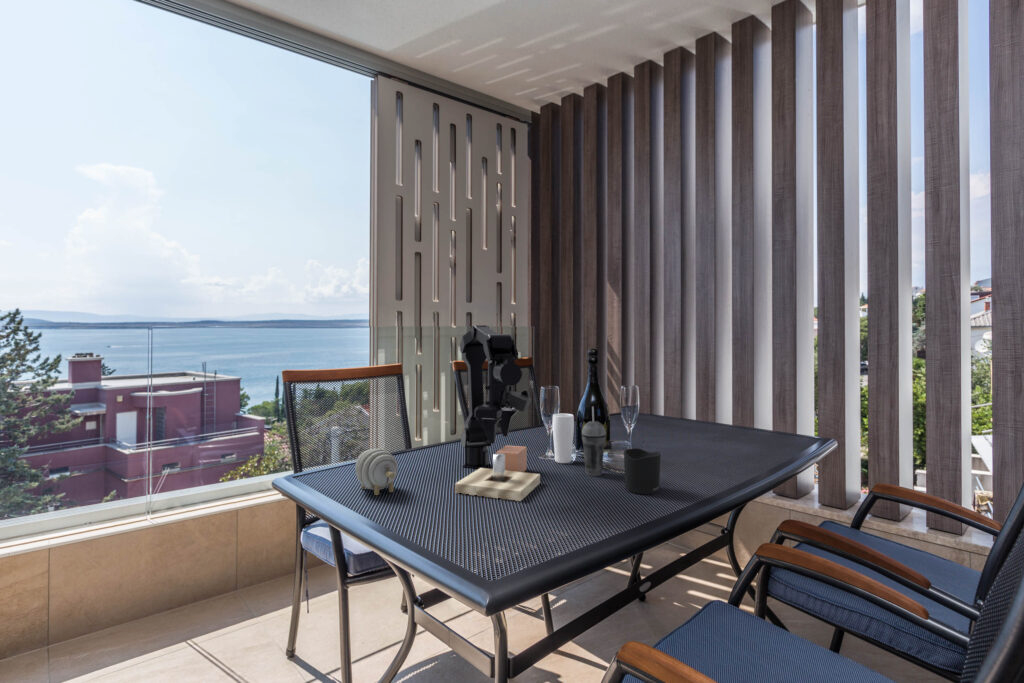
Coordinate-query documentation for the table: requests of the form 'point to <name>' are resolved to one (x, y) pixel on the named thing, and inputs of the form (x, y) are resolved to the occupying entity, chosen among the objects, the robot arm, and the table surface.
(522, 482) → the pin board
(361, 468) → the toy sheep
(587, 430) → the beverage cup
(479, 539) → the table surface
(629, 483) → the pen holder
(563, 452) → the drinking glass
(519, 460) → the block
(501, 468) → the steel pin
